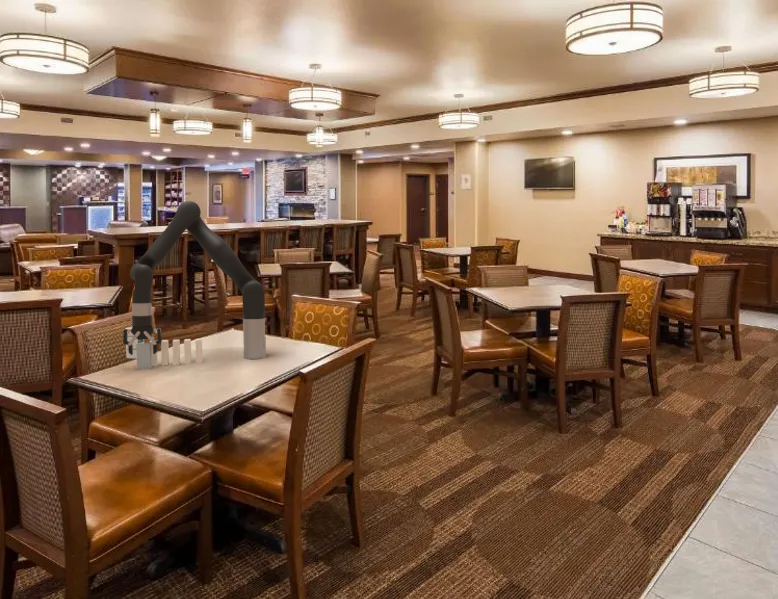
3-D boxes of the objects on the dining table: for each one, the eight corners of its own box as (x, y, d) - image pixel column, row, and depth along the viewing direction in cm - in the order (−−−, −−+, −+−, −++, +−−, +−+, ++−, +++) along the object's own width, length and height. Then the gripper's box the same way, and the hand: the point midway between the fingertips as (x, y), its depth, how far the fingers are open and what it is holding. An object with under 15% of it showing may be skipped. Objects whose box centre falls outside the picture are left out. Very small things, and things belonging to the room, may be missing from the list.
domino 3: (169, 363, 250) (168, 339, 250) (168, 365, 246) (167, 341, 245) (162, 363, 250) (162, 340, 249) (161, 365, 245) (161, 341, 244)
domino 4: (180, 362, 252) (179, 339, 251) (179, 364, 247) (178, 341, 246) (174, 363, 251) (173, 339, 250) (173, 365, 246) (172, 341, 245)
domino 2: (157, 363, 249) (156, 340, 248) (156, 366, 244) (155, 341, 244) (151, 364, 249) (150, 340, 248) (150, 366, 244) (149, 342, 243)
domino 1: (137, 368, 240) (137, 343, 239) (151, 367, 241) (150, 343, 241) (137, 369, 238) (136, 344, 237) (150, 368, 239) (149, 344, 238)
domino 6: (202, 361, 254) (201, 338, 253) (202, 363, 249) (201, 340, 249) (196, 361, 253) (195, 338, 253) (196, 364, 249) (195, 340, 248)
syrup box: (138, 360, 257) (136, 327, 255) (125, 360, 258) (124, 327, 257) (146, 358, 262) (144, 326, 261) (134, 358, 263) (132, 325, 262)
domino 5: (191, 362, 253) (190, 338, 252) (190, 364, 248) (190, 340, 247) (185, 362, 252) (184, 339, 251) (184, 364, 247) (184, 340, 247)
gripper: (161, 313, 243) (162, 352, 245) (124, 313, 240) (125, 353, 241) (160, 314, 236) (160, 355, 237) (121, 315, 232) (122, 356, 234)
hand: (143, 354), depth 239 cm, fingers open, 8 cm apart
